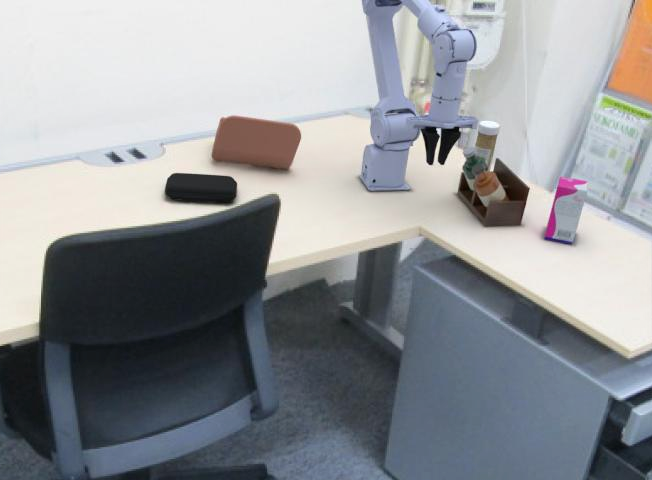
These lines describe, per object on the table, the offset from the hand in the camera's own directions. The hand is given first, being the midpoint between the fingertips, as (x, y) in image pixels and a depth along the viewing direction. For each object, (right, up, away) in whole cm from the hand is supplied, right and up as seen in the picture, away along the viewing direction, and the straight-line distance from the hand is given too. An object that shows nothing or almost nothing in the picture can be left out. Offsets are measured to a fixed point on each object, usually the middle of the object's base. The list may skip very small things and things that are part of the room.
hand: (435, 163), depth 181 cm
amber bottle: (+14, -8, +4) cm, 16 cm away
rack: (+13, -7, +9) cm, 17 cm away
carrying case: (-48, -5, +5) cm, 49 cm away
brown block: (-37, +7, +22) cm, 44 cm away
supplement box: (+26, -15, +1) cm, 30 cm away
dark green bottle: (+12, -3, +11) cm, 17 cm away
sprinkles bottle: (+13, +1, +21) cm, 25 cm away
